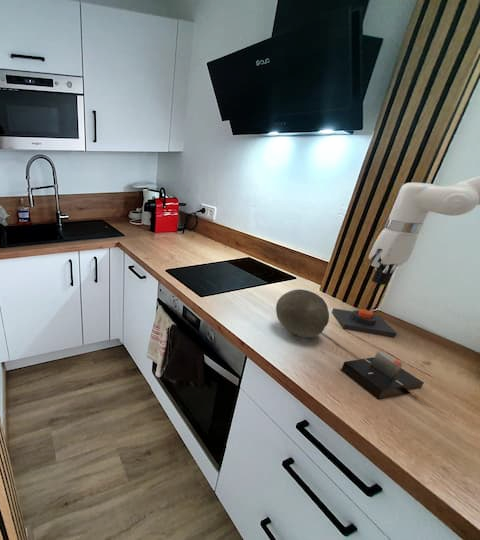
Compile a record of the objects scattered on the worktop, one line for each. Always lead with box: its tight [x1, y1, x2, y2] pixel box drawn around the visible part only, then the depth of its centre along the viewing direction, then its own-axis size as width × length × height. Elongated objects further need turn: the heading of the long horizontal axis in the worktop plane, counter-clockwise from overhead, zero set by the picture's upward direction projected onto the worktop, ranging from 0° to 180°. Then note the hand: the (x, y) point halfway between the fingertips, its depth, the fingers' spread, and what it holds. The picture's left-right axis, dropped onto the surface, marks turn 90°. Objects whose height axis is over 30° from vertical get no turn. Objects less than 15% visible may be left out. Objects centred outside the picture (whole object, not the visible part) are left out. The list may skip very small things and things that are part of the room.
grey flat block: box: [331, 307, 398, 339], centre depth 96 cm, size 14×11×5 cm
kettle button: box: [358, 308, 374, 319], centre depth 95 cm, size 4×4×2 cm
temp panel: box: [340, 356, 425, 400], centre depth 74 cm, size 13×10×3 cm
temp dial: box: [371, 350, 403, 379], centre depth 73 cm, size 5×2×5 cm, turn 12°
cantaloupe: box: [275, 288, 330, 338], centre depth 90 cm, size 14×14×15 cm
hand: (378, 282), depth 91 cm, fingers closed
